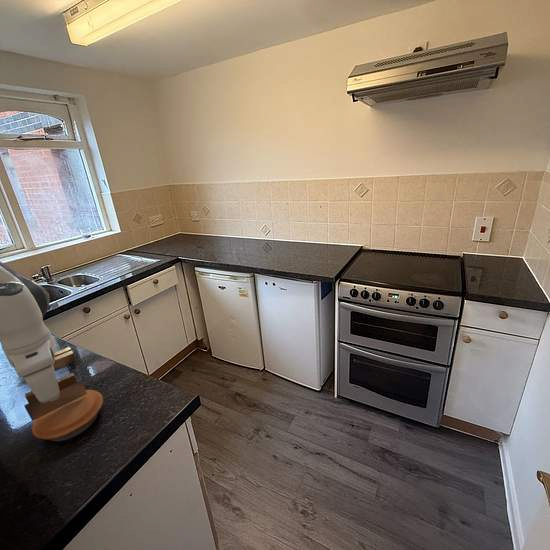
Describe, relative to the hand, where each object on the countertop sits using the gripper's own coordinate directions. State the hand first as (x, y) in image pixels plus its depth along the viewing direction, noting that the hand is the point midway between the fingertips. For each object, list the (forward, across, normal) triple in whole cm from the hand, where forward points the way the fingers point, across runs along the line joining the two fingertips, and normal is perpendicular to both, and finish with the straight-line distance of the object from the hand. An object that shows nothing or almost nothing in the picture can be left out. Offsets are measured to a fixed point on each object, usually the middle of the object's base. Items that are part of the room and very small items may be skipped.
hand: (53, 395), depth 74 cm
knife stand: (+9, -31, 0) cm, 32 cm away
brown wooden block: (+4, 0, 0) cm, 4 cm away
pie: (+9, +2, +1) cm, 10 cm away
